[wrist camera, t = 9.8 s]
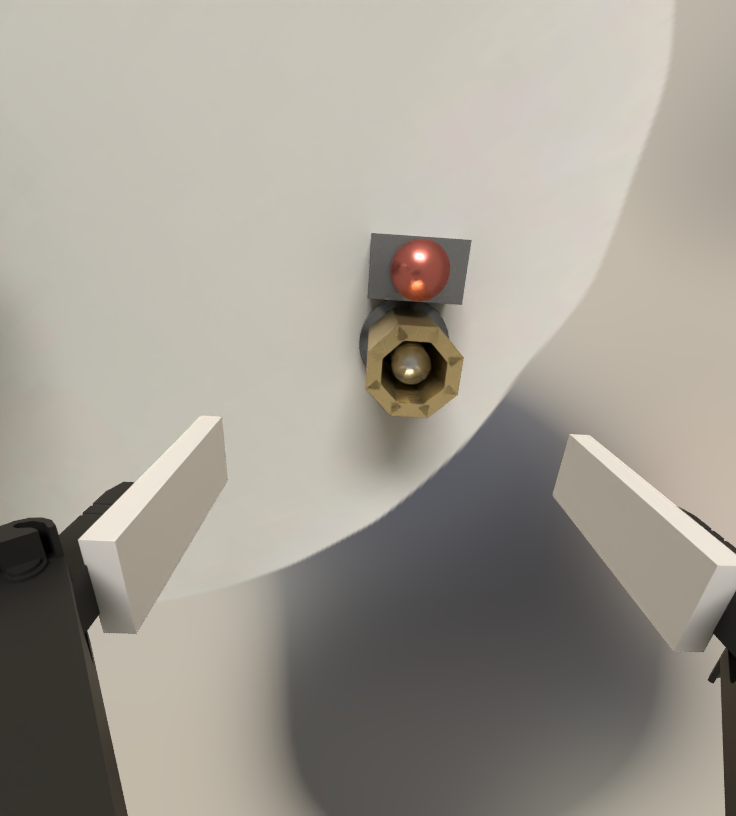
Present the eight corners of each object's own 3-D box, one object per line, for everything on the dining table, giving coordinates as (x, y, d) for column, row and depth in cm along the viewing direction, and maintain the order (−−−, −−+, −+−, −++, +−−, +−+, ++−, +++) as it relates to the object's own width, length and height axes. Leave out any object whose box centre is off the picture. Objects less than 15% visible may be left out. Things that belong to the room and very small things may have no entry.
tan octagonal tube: (365, 376, 36) (364, 413, 27) (370, 306, 33) (369, 322, 25) (434, 381, 36) (453, 419, 27) (444, 310, 34) (468, 329, 25)
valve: (357, 380, 37) (353, 412, 30) (365, 236, 32) (363, 230, 25) (440, 385, 37) (457, 419, 30) (460, 243, 33) (487, 239, 25)
